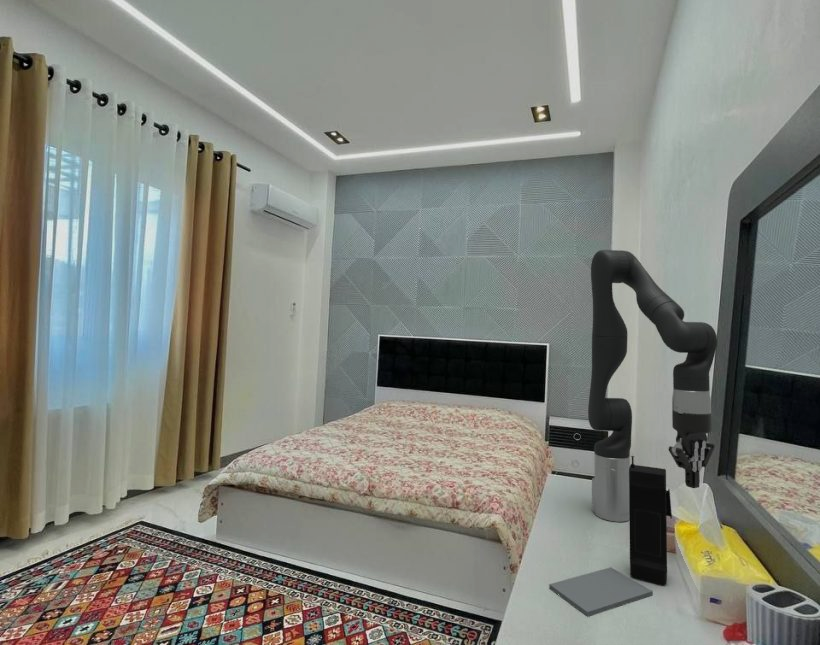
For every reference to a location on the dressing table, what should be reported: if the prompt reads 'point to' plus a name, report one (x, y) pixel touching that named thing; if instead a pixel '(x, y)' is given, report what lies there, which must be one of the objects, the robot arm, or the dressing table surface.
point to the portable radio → (648, 523)
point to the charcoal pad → (600, 591)
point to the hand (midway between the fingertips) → (692, 486)
